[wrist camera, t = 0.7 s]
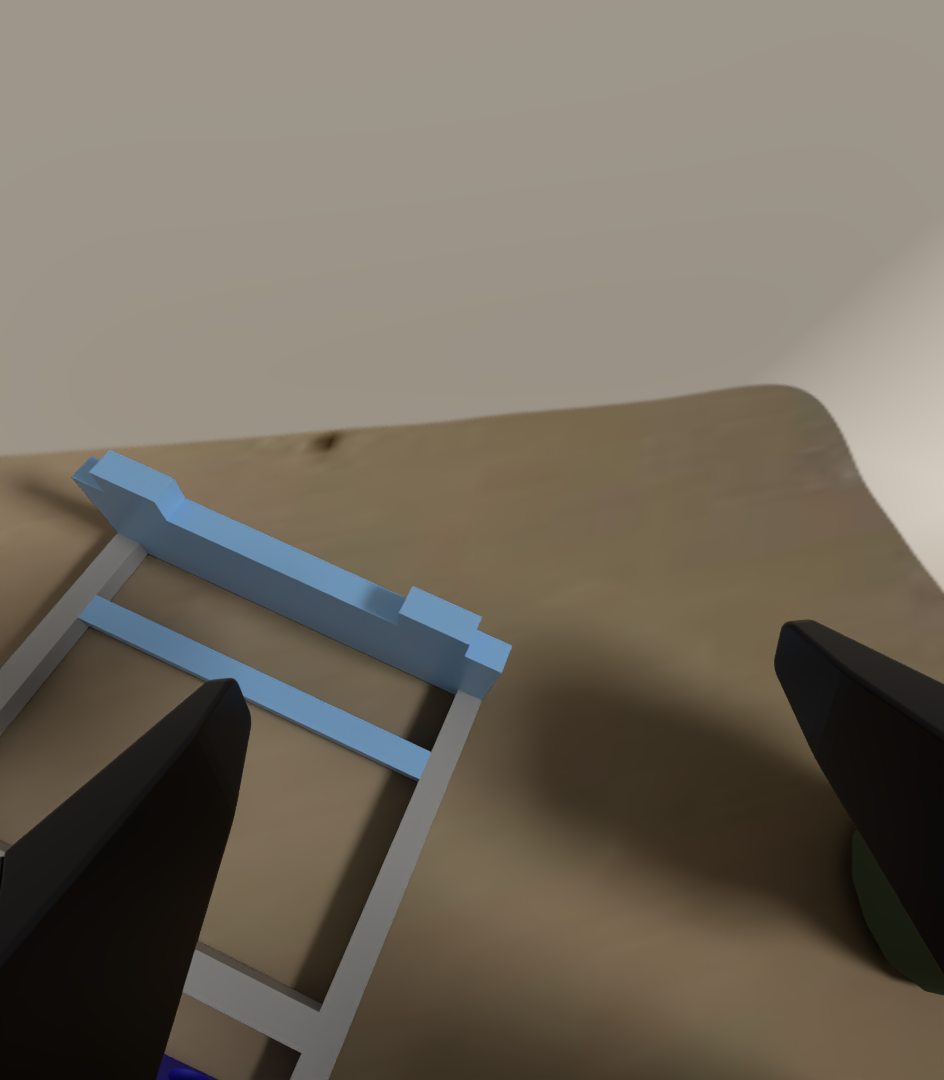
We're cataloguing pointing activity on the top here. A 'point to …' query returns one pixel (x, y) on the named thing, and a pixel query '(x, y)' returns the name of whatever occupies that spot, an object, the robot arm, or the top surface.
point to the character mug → (892, 922)
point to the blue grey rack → (275, 702)
